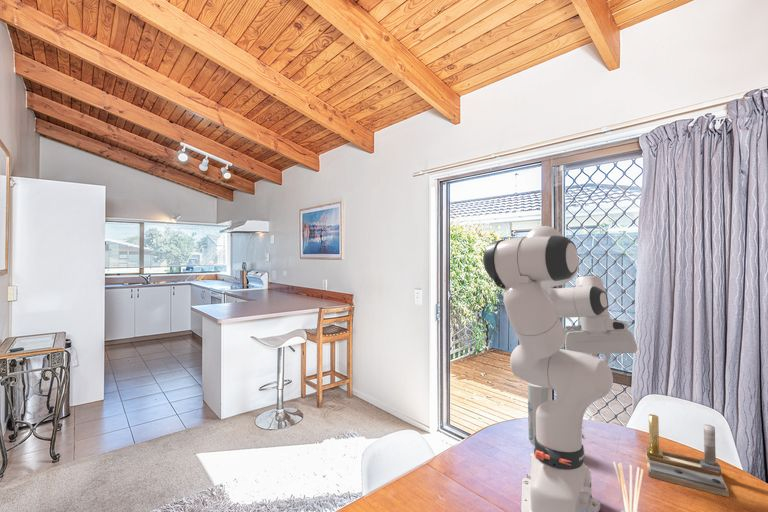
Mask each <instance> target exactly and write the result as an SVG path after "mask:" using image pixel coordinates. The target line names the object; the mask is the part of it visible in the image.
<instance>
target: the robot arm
mask: <svg viewBox="0 0 768 512" xmlns="http://www.w3.org/2000/svg"><path fill="white" fill-rule="evenodd" d="M482 260H483V267H484V270H485V271H486V273H487V275H488V277H489V278H490V279H491V280H492V281H493V282H494V284H495V285H496V286H497V287H498V288H501V289H505V290H504V293H503V303H504V309H505V311H506V315H507V318H508V320H509V323H510V324H511V327H512V329H513V331H514V333H515V335H516V338H517V339H518V341H519V345H517V346H516V347H514V349H513V350H512V352H511V354H510V358H509V367H510V369H511V372H512V374H513V375H514V376H515V377H517V378H519V379H520V380H522V381H524V382H526V383H527V384H528V383H530V384H534V385H537V386H541V387H545V388H548V390H553V391H555V392H556V394H555V399H552V400H548V401H547V402H544V403H542V404H541V405H540V406H539V407H538V408H537V411H536V436H535V440H534V445H533V452H531V453H530V455H529V457H530V458H529V459H530V460H529V465H530V473H529V472H528V473H527V474H526V477H523V478H522V480H521V496H520V497H521V499H520V500H521V501H520V502H521V503H520V512H580V511H582V510H590V511H595V512H596V511H598V512H599V511H600V509H601V503H600V501H599V500H598V499H596V498H595V497H594V496H593V490H592V489H593V487H592V486H593V485H592V472H591V469H590V468H589V467H588V466H587V465H586V464H585V449H584V445H583V442H582V441H583V437H582V435H583V434H582V432H583V422H584V421H583V420H584V416H585V414H586V411H587V409H588V408H589V407H590V406H591V405H592V404H593V403H595V402H596V401H599V400H600V399H603V398H604V397H606V396H608V394H609V393H610V391H611V389H612V387H613V383H614V376H613V372H612V369H611V367H610V365H609V364H608V363H609V361H610V360H611V354H636V353H637V351H638V345H637V343H636V339H635V336H634V334H633V332H631V331H630V330H629V327H630V326H629V323H628V322H626V321H622V320H618V319H615V318H614V319H613V318H611V314H610V312H609V309H608V308H609V301H608V294H607V292H606V288H605V285H604V281H603V280H602V278H601V276H598V275H595V274H592V275H590V274H587V275H581V276H578V277H576V278H575V276H576V274H577V273H578V271H579V269H580V260H579V255H578V250H577V247H576V245H575V243H574V242H573V241H572V240H571V239H570V238H569V237H567V236H564V235H563V234H562V233H560V231H558V230H557V229H556V228H554V227H552V226H548V225H540V226H537V227H534V228H533V229H531V230H530V231H528V232H527V234H526V235H525V236H521V237H515V238H509V239H500V240H497V241H493V242H491V243H489V244H488V245H487V246H486V248H485V251H484V253H483V259H482ZM574 278H575V286H572V287H560V288H558V286H562V285H565V284H567V283H569V282H570V281H572V280H573V279H574ZM554 287H557V288H554ZM564 318H565V319H566V318H567V319H568V318H569V319H571V318H579V323H580V325H578V324H577V325H566V326H565V327H564V326H563V324H562V320H561V319H564ZM563 347H564V348H565V349H564V348H563ZM599 354H600V355H602V354H603V355H604V357H605V359H602V358H599V357H598V355H599Z"/></svg>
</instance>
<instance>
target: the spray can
mask: <svg viewBox="0 0 768 512" xmlns="http://www.w3.org/2000/svg"><path fill="white" fill-rule="evenodd" d="M547 401H549V388H545V387H541V386H537V385H534V384H530V383H528V382H527V406H528V407H527V412H528V413H527V415H528V418H527V419H528V442H529V441H530V442H531V443H530V442H529V443H530V444H531V445H533V446H534V440H535V436H536V411H537V408H538V407H539V406H540V405H541V404H542V403H544V402H547Z"/></svg>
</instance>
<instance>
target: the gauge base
mask: <svg viewBox="0 0 768 512" xmlns="http://www.w3.org/2000/svg"><path fill="white" fill-rule="evenodd" d="M703 443H704V444H703V449H704V450H703V451H704V452H703V453H704V456H703V458H702V457H701V458H695V457H692V456H687V455H683V454H680V453H679V454H677V453H674V452H670V451H664V450H662V453H663V458H659V457H654V456H650V455H649V457H647V454H646V453H645V458H646V465H647V475H648V477H650V478H654V479H657V480H661V481H665V482H668V483H669V482H670V483H672V484H677V485H681V486H683V487H688V488H692V489H696V490H700V491H702V492H703V491H704V492H707V493H712V494H715V495H719V496H723V497H726V498H729V497H730V495H729V494H730V493H729V489H728V487H727V485H726V483H725V480H724V478H723V476H722V468H721V466H720V464H719V462H718V461H716V459H717V458H716V457H717V456H716V455H717V454H716V427H715V426H713V425H711V424H703Z"/></svg>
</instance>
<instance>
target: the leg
mask: <svg viewBox="0 0 768 512" xmlns="http://www.w3.org/2000/svg"><path fill="white" fill-rule="evenodd" d="M659 427H660V426H659V415H656V414H648V435H649V437H648V439H649V440H648V443H649V444H648V445H649V446H648V445H646V446H645V455H646V454H647V457H649V455H650V456H654V457H659V458H663V453H662V451H663V449H660V435H659V433H660V430H659V429H660V428H659Z"/></svg>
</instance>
